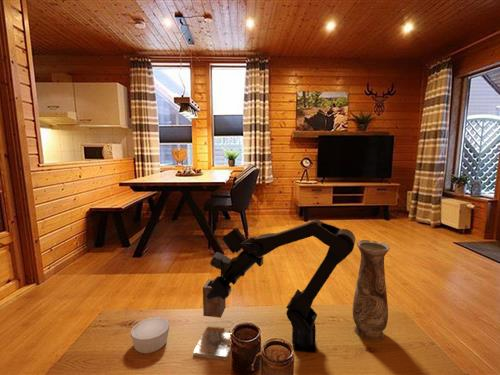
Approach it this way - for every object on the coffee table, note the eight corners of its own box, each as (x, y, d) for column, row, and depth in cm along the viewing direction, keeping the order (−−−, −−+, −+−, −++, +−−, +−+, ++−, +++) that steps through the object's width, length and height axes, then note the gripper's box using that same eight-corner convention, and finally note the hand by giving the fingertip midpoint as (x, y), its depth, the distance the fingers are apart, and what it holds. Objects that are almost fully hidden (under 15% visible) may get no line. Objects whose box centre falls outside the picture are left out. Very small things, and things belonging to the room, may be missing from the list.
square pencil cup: (225, 307, 92) (225, 280, 91) (220, 317, 86) (220, 288, 85) (209, 306, 93) (208, 279, 92) (203, 316, 87) (202, 287, 86)
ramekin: (133, 336, 85) (132, 320, 84) (169, 328, 89) (168, 314, 88) (129, 360, 74) (128, 343, 74) (170, 351, 78) (169, 334, 77)
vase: (386, 327, 88) (390, 241, 85) (387, 348, 79) (392, 251, 76) (353, 320, 93) (355, 237, 90) (350, 338, 83) (354, 246, 80)
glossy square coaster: (234, 336, 84) (234, 322, 84) (226, 360, 74) (226, 343, 74) (204, 333, 86) (204, 319, 85) (193, 355, 76) (192, 339, 75)
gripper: (231, 238, 96) (203, 265, 99) (216, 256, 78) (182, 288, 81) (252, 260, 96) (224, 286, 98) (242, 283, 77) (207, 315, 80)
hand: (210, 293), depth 89 cm, fingers closed on square pencil cup, 6 cm apart
